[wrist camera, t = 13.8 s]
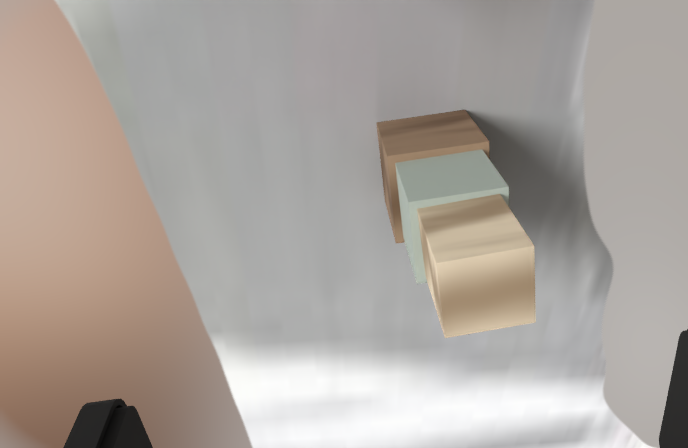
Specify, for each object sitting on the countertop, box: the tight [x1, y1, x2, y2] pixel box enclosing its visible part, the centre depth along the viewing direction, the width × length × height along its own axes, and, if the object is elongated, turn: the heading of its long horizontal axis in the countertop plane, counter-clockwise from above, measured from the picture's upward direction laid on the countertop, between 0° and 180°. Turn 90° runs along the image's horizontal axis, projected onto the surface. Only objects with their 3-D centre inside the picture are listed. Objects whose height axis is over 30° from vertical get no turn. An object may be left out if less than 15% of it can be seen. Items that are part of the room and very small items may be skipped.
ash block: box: [417, 194, 536, 338], centre depth 33 cm, size 5×5×6 cm
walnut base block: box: [377, 110, 489, 243], centre depth 44 cm, size 7×7×7 cm
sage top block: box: [395, 149, 509, 284], centre depth 38 cm, size 6×6×6 cm
